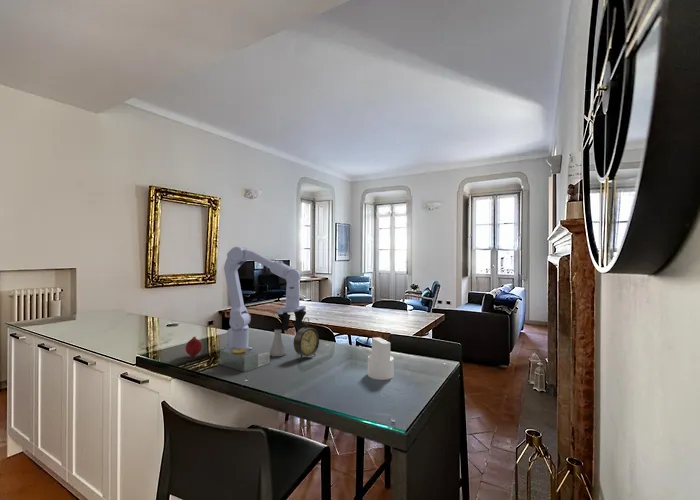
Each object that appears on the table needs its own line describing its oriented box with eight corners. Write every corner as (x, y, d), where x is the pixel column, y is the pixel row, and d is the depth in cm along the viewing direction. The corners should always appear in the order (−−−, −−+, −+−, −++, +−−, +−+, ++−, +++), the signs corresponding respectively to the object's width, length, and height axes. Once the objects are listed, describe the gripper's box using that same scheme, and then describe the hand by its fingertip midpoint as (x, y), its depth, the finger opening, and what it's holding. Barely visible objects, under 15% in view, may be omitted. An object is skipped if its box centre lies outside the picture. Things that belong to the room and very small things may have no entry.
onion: (197, 359, 131) (197, 338, 132) (182, 358, 132) (183, 338, 132) (203, 354, 137) (204, 335, 137) (189, 354, 137) (190, 334, 138)
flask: (288, 352, 143) (288, 328, 144) (283, 357, 136) (283, 332, 136) (271, 351, 144) (272, 328, 144) (265, 356, 137) (266, 331, 137)
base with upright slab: (363, 372, 120) (364, 338, 121) (386, 369, 124) (386, 336, 124) (374, 381, 112) (374, 344, 112) (398, 378, 115) (398, 342, 116)
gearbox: (219, 364, 126) (220, 348, 126) (246, 356, 136) (246, 342, 136) (244, 371, 118) (244, 355, 118) (270, 363, 128) (270, 348, 128)
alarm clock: (300, 362, 130) (301, 319, 131) (290, 359, 134) (291, 318, 134) (319, 356, 139) (320, 316, 140) (310, 353, 142) (311, 314, 143)
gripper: (286, 299, 138) (286, 333, 137) (311, 296, 150) (310, 327, 149) (275, 298, 142) (274, 330, 142) (299, 295, 154) (298, 325, 153)
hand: (291, 329), depth 146 cm, fingers open, 7 cm apart
